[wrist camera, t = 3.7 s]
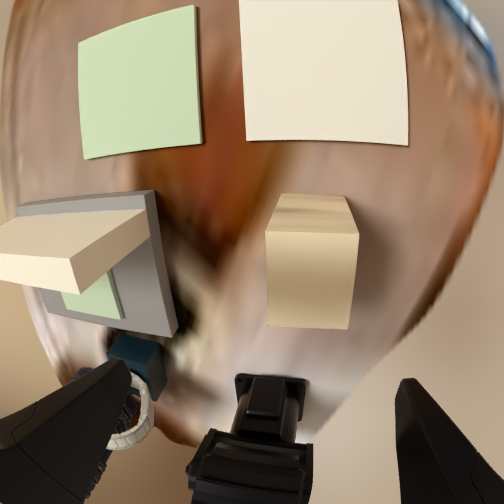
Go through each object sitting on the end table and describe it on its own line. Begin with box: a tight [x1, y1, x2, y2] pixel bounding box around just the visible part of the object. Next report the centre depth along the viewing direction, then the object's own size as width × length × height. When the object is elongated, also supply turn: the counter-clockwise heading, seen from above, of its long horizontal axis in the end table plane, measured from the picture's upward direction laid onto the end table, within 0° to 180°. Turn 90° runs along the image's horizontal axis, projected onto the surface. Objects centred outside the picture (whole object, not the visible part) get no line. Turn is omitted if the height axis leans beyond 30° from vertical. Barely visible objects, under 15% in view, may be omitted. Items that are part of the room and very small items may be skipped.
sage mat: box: [78, 5, 203, 160], centre depth 17 cm, size 10×10×1 cm
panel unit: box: [0, 190, 178, 337], centre depth 20 cm, size 12×16×10 cm
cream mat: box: [239, 0, 408, 145], centre depth 15 cm, size 10×10×1 cm
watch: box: [106, 334, 167, 450], centre depth 24 cm, size 6×8×11 cm
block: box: [265, 194, 359, 329], centre depth 17 cm, size 5×4×7 cm
